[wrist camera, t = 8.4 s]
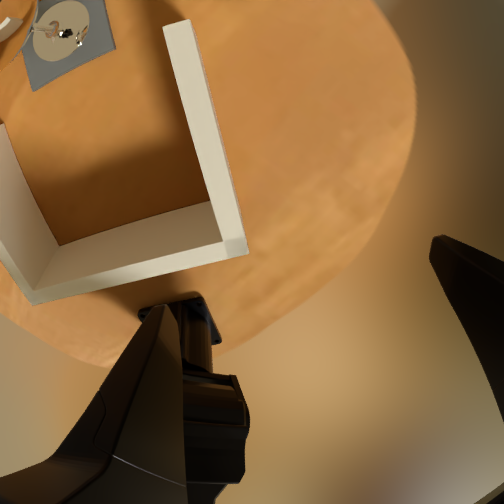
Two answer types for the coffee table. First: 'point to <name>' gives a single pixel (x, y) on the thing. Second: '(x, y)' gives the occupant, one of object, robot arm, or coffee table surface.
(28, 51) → the felt mat
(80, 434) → the robot arm
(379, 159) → the coffee table surface
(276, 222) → the coffee table surface
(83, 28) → the wineglass
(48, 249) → the corner wall
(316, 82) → the coffee table surface
